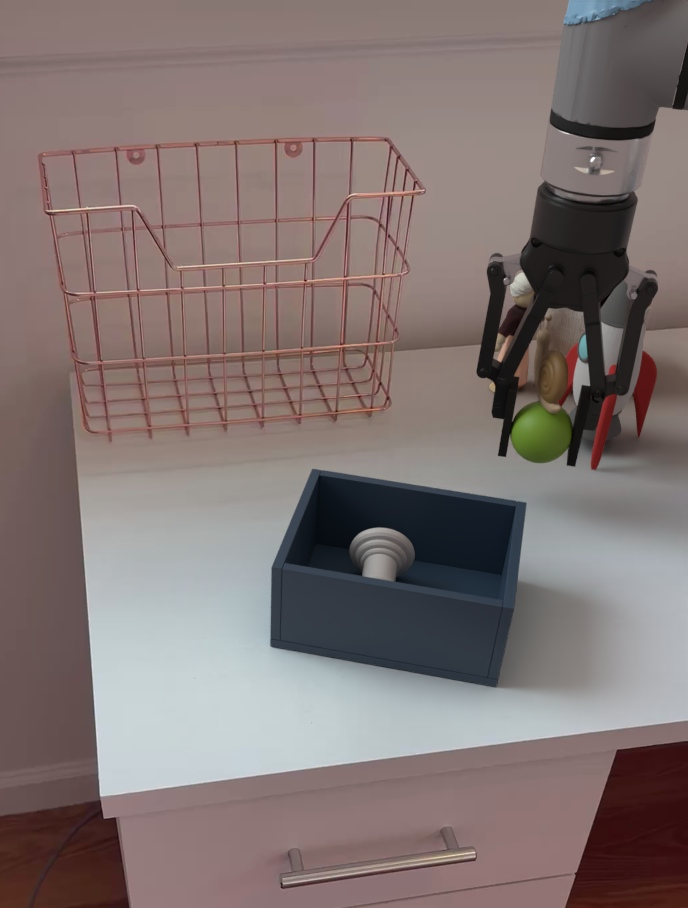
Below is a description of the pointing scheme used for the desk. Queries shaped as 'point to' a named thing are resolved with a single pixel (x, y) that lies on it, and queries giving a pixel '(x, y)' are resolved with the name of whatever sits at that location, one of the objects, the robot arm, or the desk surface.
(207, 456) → the desk surface
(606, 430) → the toy
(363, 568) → the chess piece
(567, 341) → the planter
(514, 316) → the grandmother figurine
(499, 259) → the robot arm
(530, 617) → the desk surface
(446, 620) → the tote
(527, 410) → the snail figurine
